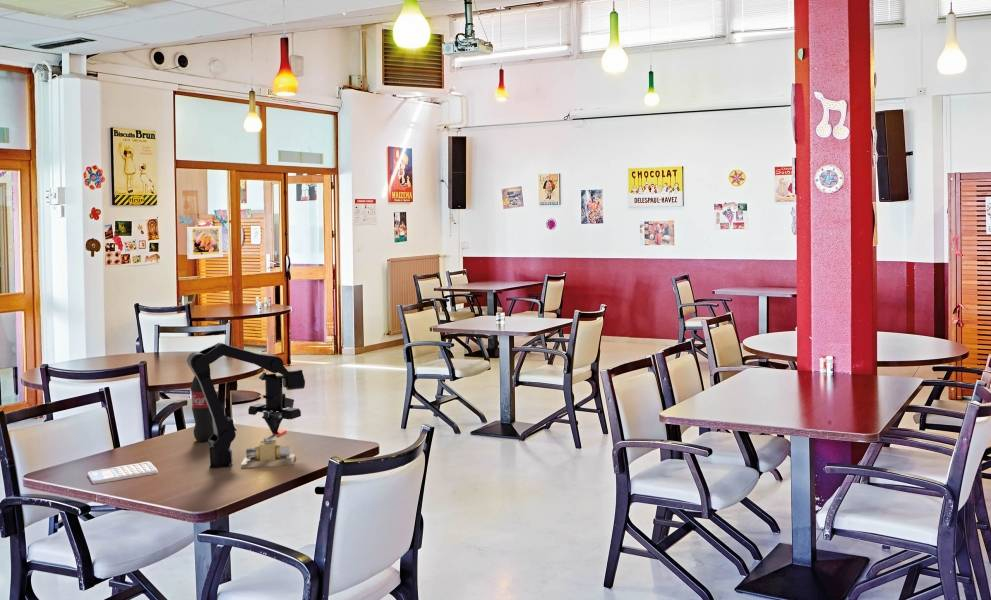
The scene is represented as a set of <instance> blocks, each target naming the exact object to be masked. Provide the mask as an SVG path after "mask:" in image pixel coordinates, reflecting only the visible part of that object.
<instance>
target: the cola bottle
mask: <svg viewBox="0 0 991 600" xmlns="http://www.w3.org/2000/svg"><path fill="white" fill-rule="evenodd" d="M212 383H213V384H214V382H213V381H212ZM190 385H191V386H190V392H191V393H190V394H191V412H192V414H193V415H192V416H193V419H194V428H193V437H194V439H195V440H196V441H197V442H200V443H205V442H208V439H209V438H210V437H211V436H212V435H213V434H214V430H213V419H212V415H211V413H210V410H209V408H208V405H207V402H206V400H205V397H204V394H203V392H202V389H201V386H200V384H199V381H198V379H197V378H196V376H195V375H194V376H193V379H192V382H191V384H190ZM208 443H209V442H208Z"/></svg>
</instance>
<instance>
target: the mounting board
mask: <svg viewBox="0 0 991 600" xmlns="http://www.w3.org/2000/svg"><path fill="white" fill-rule="evenodd" d="M296 455H297V454H296V453H292V454H291V453H290V457H287V459H276V461H264V462H260V460H256V461H250V459H247V457H246V456H245V457H244V458H243V460H242V461H241V463H240V468H241V469H246V468H248V469H249V468H261V467H264V468H265V467H278V466H293V465H294V463H295V460H296V458H297V457H296Z"/></svg>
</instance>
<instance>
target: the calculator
mask: <svg viewBox="0 0 991 600" xmlns="http://www.w3.org/2000/svg"><path fill="white" fill-rule="evenodd" d="M158 472H159V471H158V468H156V466H155V465H154V464H153V463H152V462H151V461H142V462H138V463H132V464H126V465H120V466H114V467H108V468H102V469H96V470H91V471H88V472H87V477H88V478H89V479H90V481H91V483H92V484H94V485H96V484H97V483H98V484H102V483H103V484H104V483H108V482H115V481H120V480H126V479H133V478H138V477H145V476H149V475H150V476H151V475H156V474H158Z"/></svg>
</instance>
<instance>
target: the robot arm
mask: <svg viewBox="0 0 991 600" xmlns="http://www.w3.org/2000/svg"><path fill="white" fill-rule="evenodd" d="M223 356H224V357H227V358H231V359H235V360H238V361H242V362H246V363H248V364H252V365H255V366H258V367H260V368H262V369H264V370H266V371H268V372H270V373H267V372H265V371H263V372H262V373H261V374H260V376H259V377H258V379H260V380H261V381H265V382H264V383H265V388H264V389H265V394H264V395H262V399H265V404H264V403H256V404H252V405H250V406H249V407H248V410H247V411H248V412H247V413H248V415H253V416H255V415H257V413H262V416H261V419H263V420H264V421H265V423H266V424H267V426H268V428H269V429H270V431H271V433H272V435H273V434H274V433H276V432H278V431H279V428H280V426H281V423H282V421H283V420H289V421H290V420H293V419H297V418H300V417H301V416H302V411H301V409H300V408H297V407H294V403H295V399H293V398H289V397H286V393H284V392H283V388H284V389H286V391H291V390H293V391H294V390H301V389H302V390H304V389H305V386H306V379H305V376H304V373H303V370H302V369H300V368H299V369H293V370H288V369H287V368H286V367H285V365H284V361H283V359H282V358H281V357H279V356H278V355H275V354H270V353H256V352H253V351H250V350H247V349H246V350H245V349H242V348H239V347H235V346H231V345H228V344H225V343H223V342H217V343H215V344H214V345H211V346H209V347H207V348H205V349H202V350H200V351H193V352H191V353H190V354H189V355H188V357H187V358H186V362H187V365H188V367H189V369H190V370H191V372H192V373H193V375H194V377H195V376H196V378H197V379H198V381H199V384H200V386H201V389H202V392H203V394H204V397H205V400H206V402H207V405H208V408H209V410H210V413H211V415H212V419H213V430H214V434H213V435H212V436H211V437H210V438H209V439H208V444H209V446H210V447H209V466H208V467H209V468H210V469H211V468H226V467H228V468H229V467H230V466H231V464H232V463H233V449H231V444H232V442H233V441H234V440H235V438H236V435H237V433H236V432H237V429H236V427H235V424H234V419H232V418H231V417H230V416H226V415H225V413H224V409H223V407H222V404H221V401H220V398H219V396H218V393H217V391H216V388H215V385H214V382H213V380H212V378H211V368H210V365H211V364H213V363H214V362H216V361H218V359H220V358H221V357H223ZM277 373H278V374H280V375H277ZM212 382H213V383H212Z"/></svg>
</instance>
